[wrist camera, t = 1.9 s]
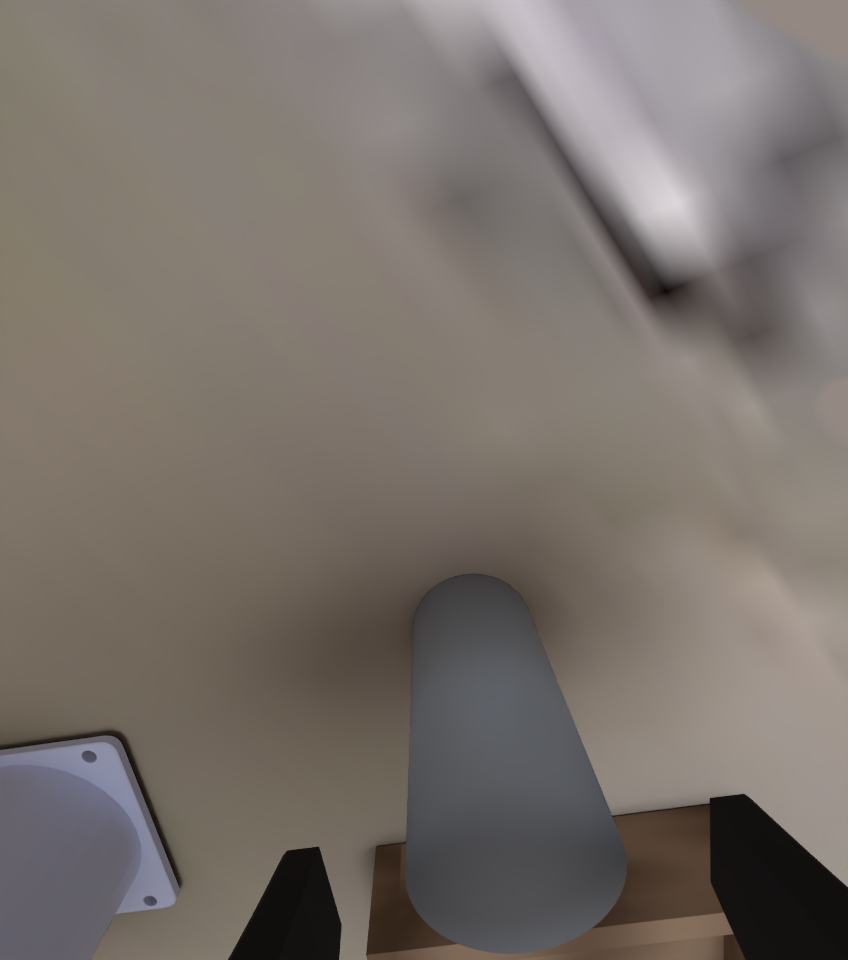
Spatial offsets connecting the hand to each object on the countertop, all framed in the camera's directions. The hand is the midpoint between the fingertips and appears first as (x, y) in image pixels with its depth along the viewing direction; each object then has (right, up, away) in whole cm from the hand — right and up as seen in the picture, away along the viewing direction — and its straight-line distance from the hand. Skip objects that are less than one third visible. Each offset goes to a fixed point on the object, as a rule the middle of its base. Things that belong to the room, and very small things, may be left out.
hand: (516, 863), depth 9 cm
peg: (0, +2, +8) cm, 8 cm away
